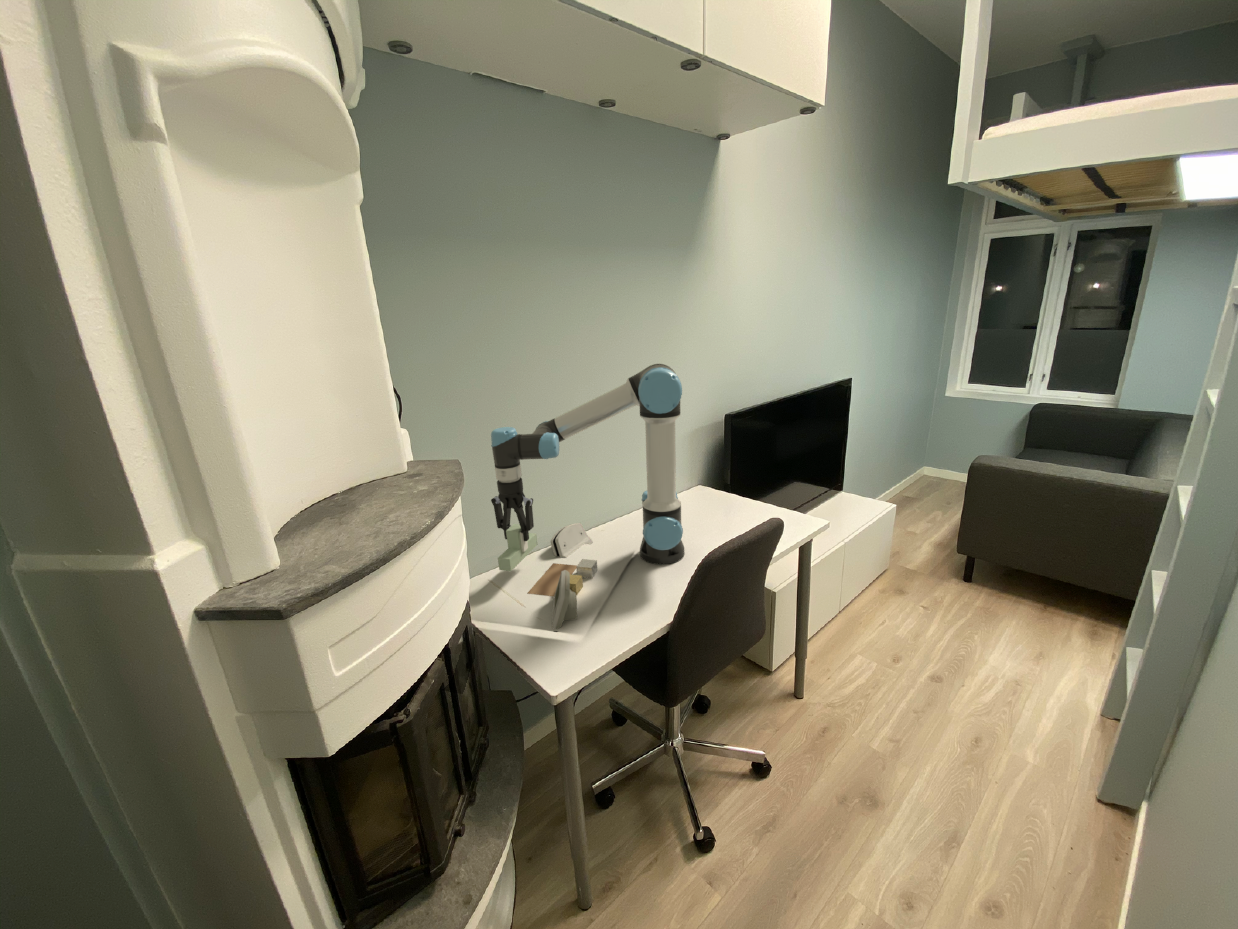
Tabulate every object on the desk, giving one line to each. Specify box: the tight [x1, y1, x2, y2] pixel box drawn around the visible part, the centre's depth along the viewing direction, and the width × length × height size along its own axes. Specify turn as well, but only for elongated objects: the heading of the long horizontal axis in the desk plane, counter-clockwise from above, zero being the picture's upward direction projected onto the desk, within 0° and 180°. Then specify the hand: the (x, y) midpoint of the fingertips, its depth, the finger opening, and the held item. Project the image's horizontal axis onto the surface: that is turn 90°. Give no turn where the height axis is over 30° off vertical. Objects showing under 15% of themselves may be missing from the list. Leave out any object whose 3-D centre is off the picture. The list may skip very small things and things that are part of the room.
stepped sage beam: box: [497, 523, 539, 572], centre depth 162 cm, size 4×18×10 cm, turn 162°
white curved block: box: [550, 522, 593, 559], centre depth 183 cm, size 17×5×10 cm, turn 151°
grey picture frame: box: [551, 570, 578, 633], centre depth 143 cm, size 16×9×11 cm, turn 173°
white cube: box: [576, 558, 599, 580], centre depth 164 cm, size 5×5×5 cm
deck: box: [526, 563, 578, 598], centre depth 163 cm, size 9×19×2 cm, turn 162°
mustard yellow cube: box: [570, 574, 584, 596], centre depth 155 cm, size 5×5×5 cm
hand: (518, 548), depth 163 cm, fingers closed on stepped sage beam, 4 cm apart
